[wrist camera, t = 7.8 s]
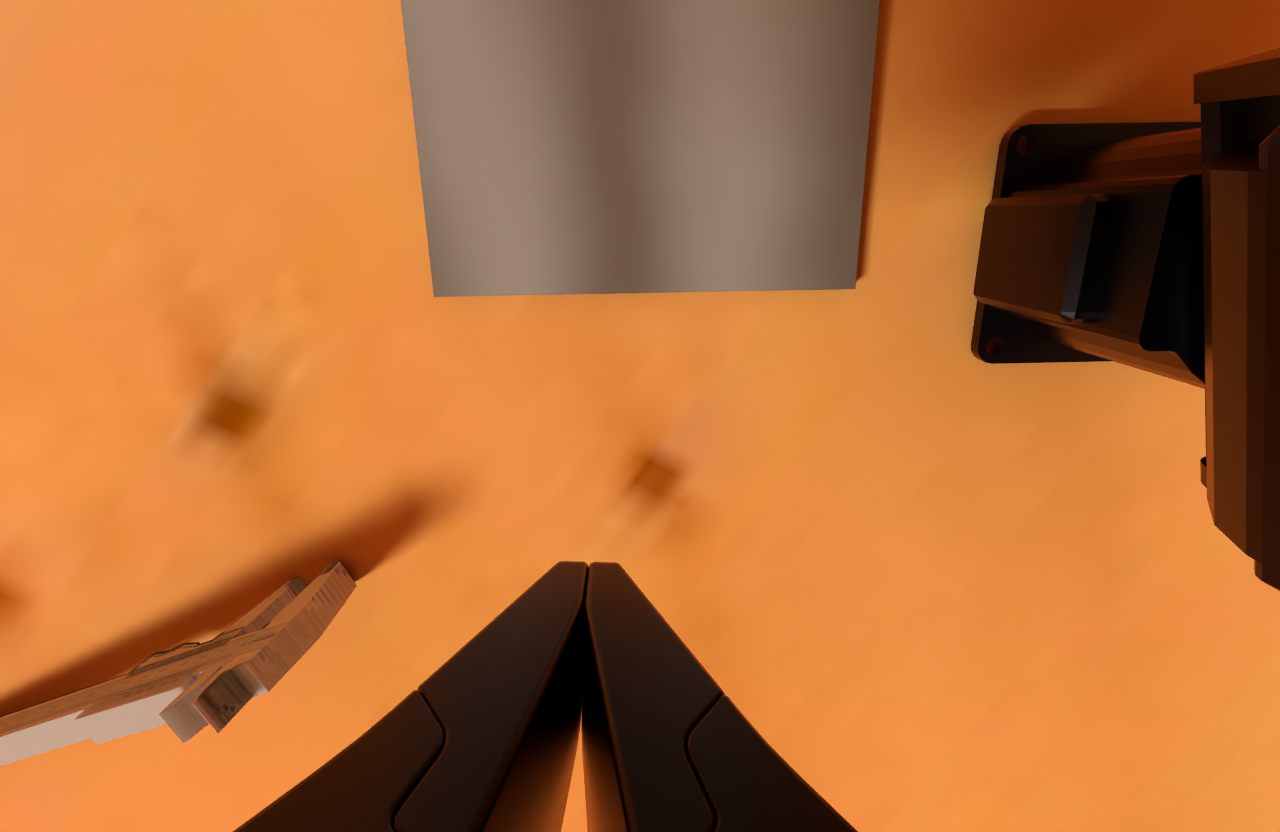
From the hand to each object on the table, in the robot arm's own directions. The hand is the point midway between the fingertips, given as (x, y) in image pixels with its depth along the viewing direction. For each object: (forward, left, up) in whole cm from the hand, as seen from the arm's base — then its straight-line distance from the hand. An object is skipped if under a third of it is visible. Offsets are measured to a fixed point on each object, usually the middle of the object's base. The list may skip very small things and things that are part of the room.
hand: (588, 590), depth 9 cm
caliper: (+18, +10, -12) cm, 24 cm away
